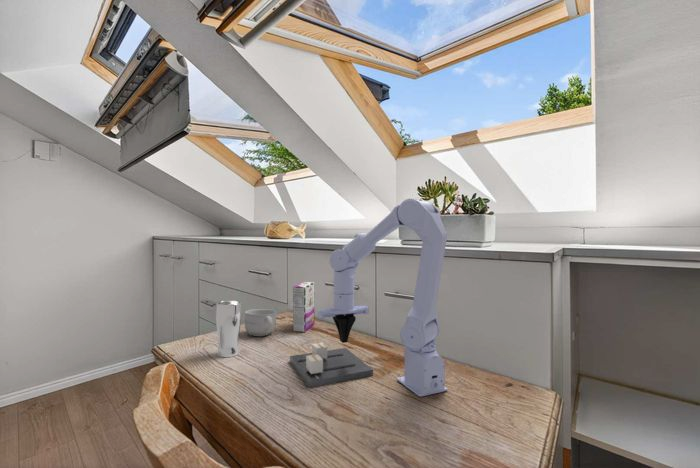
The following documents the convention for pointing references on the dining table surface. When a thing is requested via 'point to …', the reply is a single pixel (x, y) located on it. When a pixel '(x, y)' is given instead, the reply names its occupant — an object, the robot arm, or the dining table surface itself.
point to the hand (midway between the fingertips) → (343, 341)
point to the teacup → (260, 321)
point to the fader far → (319, 349)
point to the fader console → (332, 368)
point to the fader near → (314, 363)
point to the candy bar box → (303, 306)
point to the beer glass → (228, 327)
